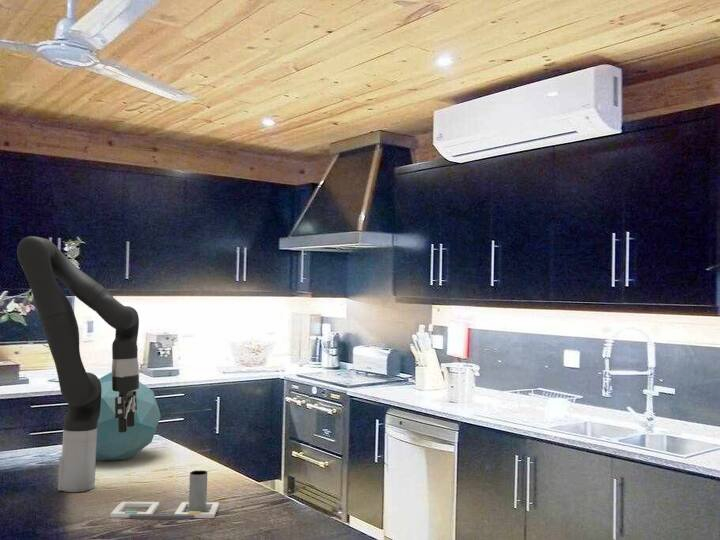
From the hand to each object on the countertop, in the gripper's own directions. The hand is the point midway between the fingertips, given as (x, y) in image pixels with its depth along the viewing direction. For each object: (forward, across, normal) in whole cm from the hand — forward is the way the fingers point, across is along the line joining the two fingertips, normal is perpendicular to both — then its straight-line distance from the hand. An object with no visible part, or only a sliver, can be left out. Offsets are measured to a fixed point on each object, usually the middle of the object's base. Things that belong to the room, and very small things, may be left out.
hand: (126, 429), depth 198 cm
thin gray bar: (+18, +27, +15) cm, 36 cm away
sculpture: (+16, -36, -14) cm, 42 cm away
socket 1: (+18, +21, +8) cm, 29 cm away
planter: (+19, +21, +23) cm, 37 cm away
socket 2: (+19, +21, +23) cm, 37 cm away
